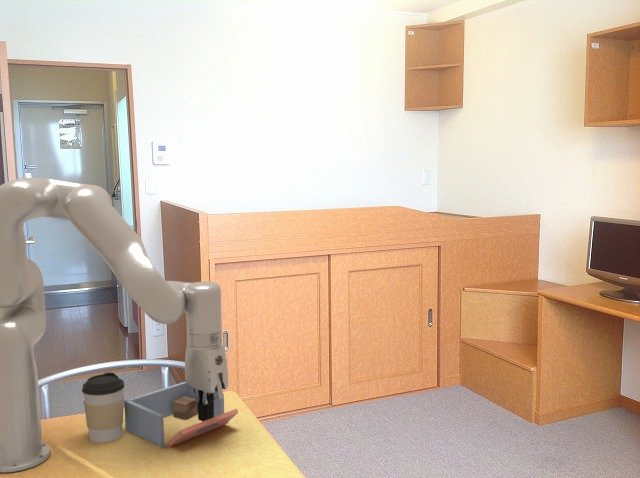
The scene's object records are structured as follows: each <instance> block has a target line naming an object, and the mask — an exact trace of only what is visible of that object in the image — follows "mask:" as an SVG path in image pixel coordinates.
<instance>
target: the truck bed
mask: <svg viewBox="0 0 640 478" xmlns="http://www.w3.org/2000/svg"><path fill="white" fill-rule="evenodd" d="M184 396H185V397H189V398H193V399H196V396H195V393H194V391H192V390H191V389H190V388H189V385H188V384H187V383H186V380H185V381H183V382H180V383H175V384H173V385H170V386H167V387H164V388H161V389H158V390H154V391H151V392H148V393H144V394H141V395H139V396H136V397H132V398H129V399H126V400H125V399H124V427H125V428H124V429H125V430H126V431H128V432H130V433H132V434H134V435H136V436H138V437H140V438H142V439H144V440H146V441H148V442H150V443H152V444H155V445H156V446H159V447H161V448H162V449H167V448H168V445H167V443H165V430H164V429H165V428H164V427H165V424H164V418H166V417H169V416H172V415H173V401H175V400H178V399H180V398H182V397H184ZM198 403H199V402H197V414H198ZM224 413H225V393H223V398H220V399H216V401H215V402H214V417H216V416H218V415H221V414H224ZM227 424H229V422H227V423H226V424H225V425H227Z"/></svg>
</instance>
